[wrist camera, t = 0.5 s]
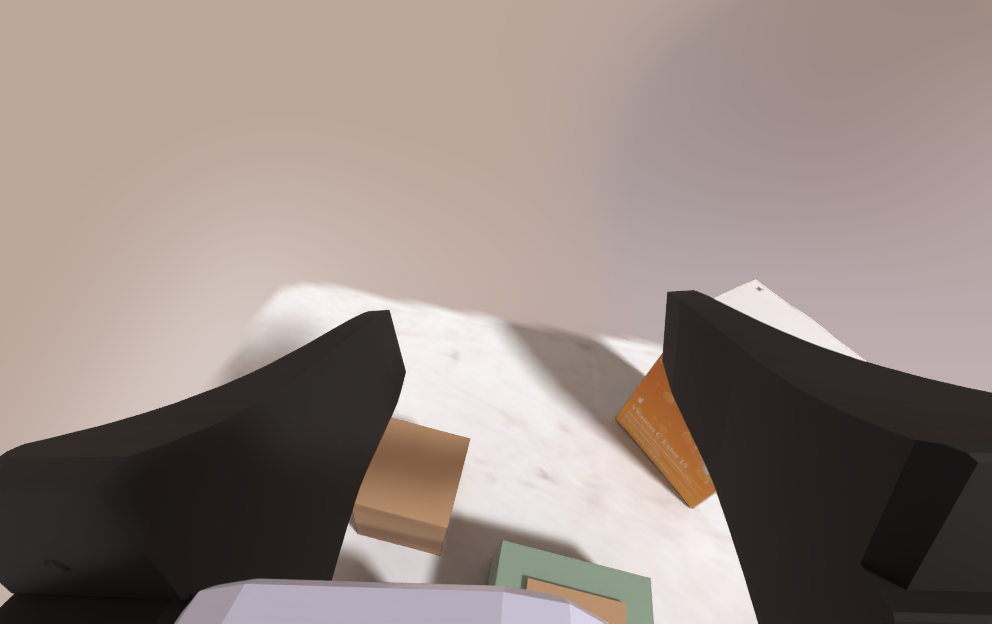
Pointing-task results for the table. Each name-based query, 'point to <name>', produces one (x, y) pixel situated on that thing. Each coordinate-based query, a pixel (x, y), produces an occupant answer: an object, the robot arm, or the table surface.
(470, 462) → the table surface
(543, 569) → the green block
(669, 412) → the small box
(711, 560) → the table surface
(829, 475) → the robot arm
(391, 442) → the walnut cube
